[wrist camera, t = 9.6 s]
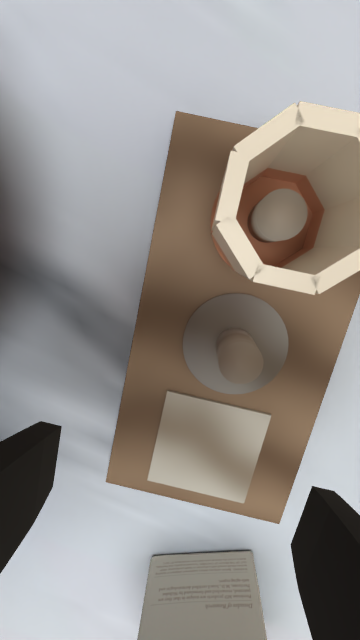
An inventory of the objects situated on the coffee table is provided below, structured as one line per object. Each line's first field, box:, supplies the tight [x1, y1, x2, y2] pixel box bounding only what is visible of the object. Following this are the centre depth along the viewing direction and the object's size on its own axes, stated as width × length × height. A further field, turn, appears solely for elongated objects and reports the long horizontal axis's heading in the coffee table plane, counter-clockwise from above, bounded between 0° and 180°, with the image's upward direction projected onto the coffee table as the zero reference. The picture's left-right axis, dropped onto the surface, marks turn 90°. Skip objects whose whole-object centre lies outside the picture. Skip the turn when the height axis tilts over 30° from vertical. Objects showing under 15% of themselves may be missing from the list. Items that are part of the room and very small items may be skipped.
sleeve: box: [211, 101, 360, 295], centre depth 12 cm, size 5×5×6 cm
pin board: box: [106, 111, 360, 524], centre depth 16 cm, size 21×11×4 cm, turn 168°
